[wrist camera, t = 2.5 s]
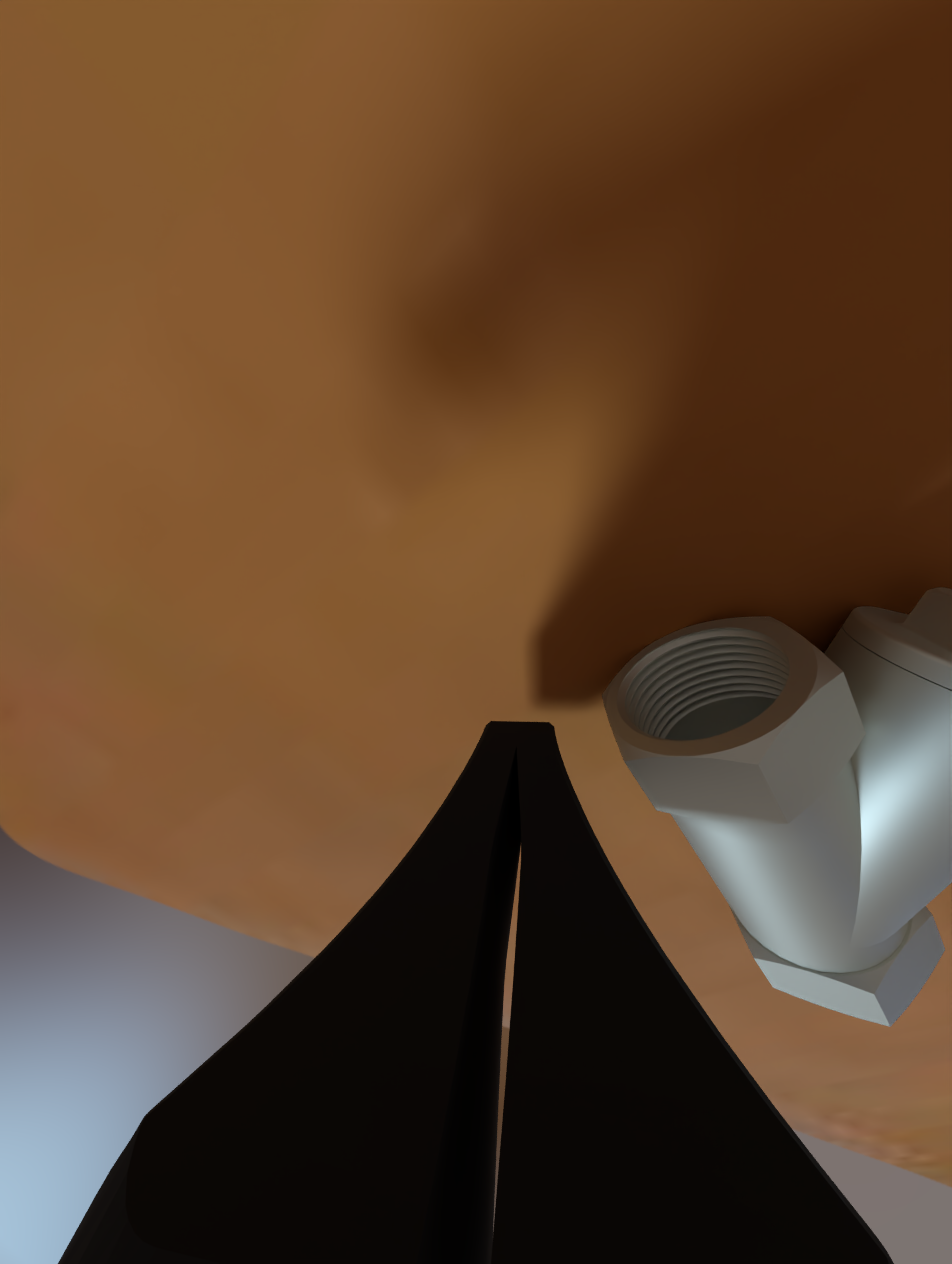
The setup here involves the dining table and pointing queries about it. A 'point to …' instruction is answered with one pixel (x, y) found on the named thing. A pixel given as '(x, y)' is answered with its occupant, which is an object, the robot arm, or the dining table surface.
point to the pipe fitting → (809, 788)
